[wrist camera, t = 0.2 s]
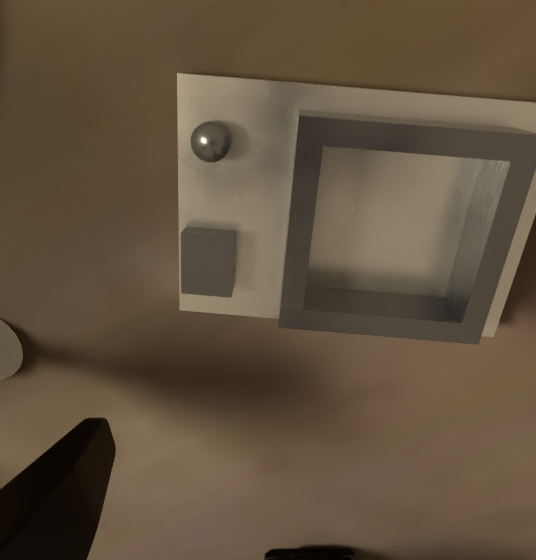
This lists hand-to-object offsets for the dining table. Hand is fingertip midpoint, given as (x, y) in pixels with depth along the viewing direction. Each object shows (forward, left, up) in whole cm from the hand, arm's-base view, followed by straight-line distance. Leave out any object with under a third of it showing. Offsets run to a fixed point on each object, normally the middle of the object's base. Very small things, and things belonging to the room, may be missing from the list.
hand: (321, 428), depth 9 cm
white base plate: (0, -2, -14) cm, 14 cm away
